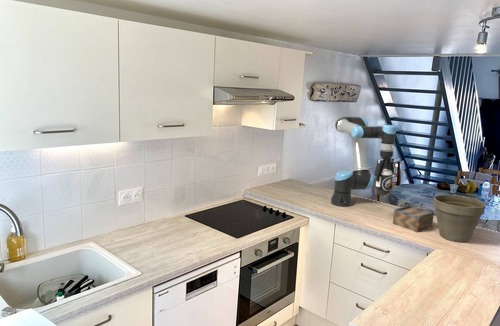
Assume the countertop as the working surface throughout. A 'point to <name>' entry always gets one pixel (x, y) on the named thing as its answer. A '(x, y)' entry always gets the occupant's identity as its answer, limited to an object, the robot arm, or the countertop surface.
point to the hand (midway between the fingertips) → (382, 185)
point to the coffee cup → (384, 182)
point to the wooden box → (413, 218)
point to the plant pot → (457, 216)
